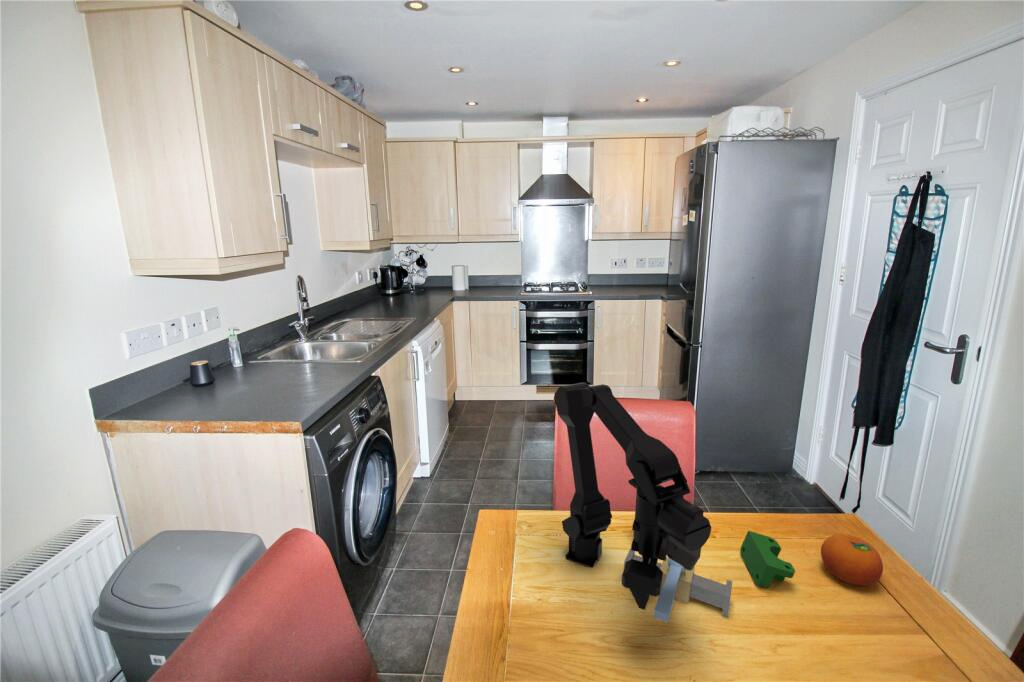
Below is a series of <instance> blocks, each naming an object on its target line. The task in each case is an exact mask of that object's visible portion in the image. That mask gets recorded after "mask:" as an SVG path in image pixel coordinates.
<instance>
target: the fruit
mask: <svg viewBox="0 0 1024 682" xmlns="http://www.w3.org/2000/svg"><path fill="white" fill-rule="evenodd" d="M820 557H821V559H822V563H823V564H824V566H825V568H826V569H827V570H828V571H829V573H831V574H832V575H833V576H835V577H836V578H838V579H839V580H841V581H843V582H844V583H845V582H846V583H849V584H852V585H858V586H868V585H871V584H874V583H877V582H878V581H879V580H880V578H882V576H883V572H884V571H883V570H884V565H883V561H882V557H881V555H880V553H879V552H878V550H877V549H876V548H875V547H874V546H872V544H870V543H869V542H867V541H866V540H864V539H863V538H861V537H857V536H854V535H852V534H846V533H835V534H832V535H830V536H828V537H827V538H826V539H824V541H823V543H821V546H820Z"/></svg>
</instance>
